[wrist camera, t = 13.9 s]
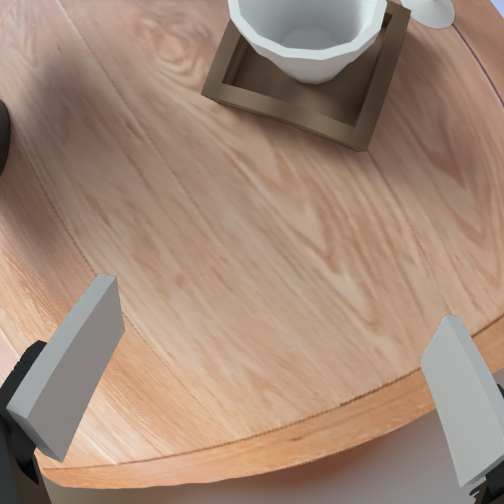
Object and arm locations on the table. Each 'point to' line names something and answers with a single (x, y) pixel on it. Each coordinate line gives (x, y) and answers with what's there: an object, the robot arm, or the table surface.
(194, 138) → the table surface
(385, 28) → the square wooden tray
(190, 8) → the table surface
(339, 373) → the table surface
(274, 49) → the foam cup
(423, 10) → the champagne flute
